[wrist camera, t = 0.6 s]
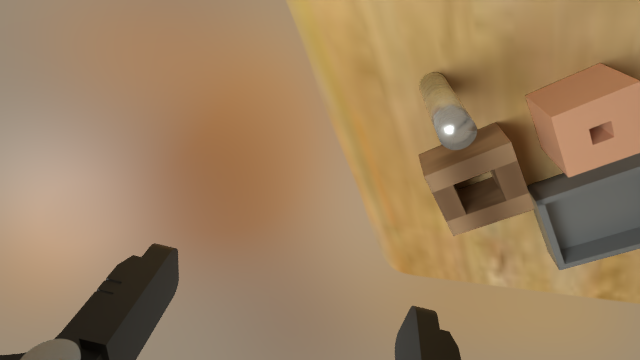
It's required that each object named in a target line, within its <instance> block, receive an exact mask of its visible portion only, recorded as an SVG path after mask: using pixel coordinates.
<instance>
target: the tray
mask: <svg viewBox="0 0 640 360" xmlns="http://www.w3.org/2000/svg"><path fill="white" fill-rule="evenodd" d="M527 189H528V191H529V194H530V197H531V200H532V203H533V206H534V208H535V209H534V213H535V215H536V218H537V221H538V224H539V227H540V229H541V232H542V235H543V238H544V241H545V243H546V246H547V249H548V252H549V254H550V256H551V257H552V259H553V260H554V262H555V264H556V265H557V267H558V268H559V270H562V269H566V268H570V267H573V266H577V265H581V264H584V263H588V262H592V261H596V260H599V259H603V258H607V257H610V256H614V255H618V254H621V253H625V252H629V251H632V250H636V249H640V153H638V154H635V155H632V156H629V157H626V158H623V159H621V160H618V161H615V162H612V163H609V164H606V165H603V166H600V167H598V168H595V169H592V170H589V171H586V172H583V173H580V174H577V175H575V176H572V177H569V178H568V177H567V176H566V174H565V173H563V174H560V175H557V176H554V177H551V178H548V179H546V180H543V181H540V182H537V183H534V184H531V185H529V186H527Z"/></svg>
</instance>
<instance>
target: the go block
mask: <svg viewBox="0 0 640 360" xmlns="http://www.w3.org/2000/svg"><path fill="white" fill-rule="evenodd" d="M419 159H420V163H421V167H422V170H423V174H424V177H425V179H426V181H427V183H428V185H429V188H430V190H431V192H432V194H433V196H434V198H435V200H436V202H437V204H438V206H439V208H440V210H441V212H442V214H443V216H444V218H445V220H446V222H447V224H448V226H449V228H450V230H451V232H452V234H453V236H455V235H458V234H461V233H464V232H467V231H470V230H473V229H476V228H479V227H482V226H485V225H488V224H491V223H494V222H497V221H500V220H503V219H506V218H510V217H513V216H516V215H519V214H522V213H525V212H528V211H531V210H534V209H535V208H534V206H533V203H532V200H531V197H530V194H529V191H528V189H527V186H526V183H525V180H524V177H523V174H522V172H521V169H520V166H519V163H518V160H517V157H516V155H515V152H514V149H513V146H512V143H511V141H510V140H509V139H508V137H507V136H506V135H505V134H504V132H503V131H502V130H501V129H500V127H499V126H498V125H497V124H496V122H495V123H493V124H491V125H488V126H486V127H484V128H481V129H479V130H477V135H476V138H475V139H474V141H473V142H472V143H471V144H470V145H469V146H467V147H466V148H464V149H460V150H451V149H448V148H446V147H444V146H443V145H441V146H438V147H436V148H434V149H431V150H429V151H427V152H424V153H422V154H419ZM488 171H491V174H492V176H493V177H491V178H489V179H486V180H483V181H481V182H478V183H475V184H473V185H470V186H467V187H465V188H462V189H459V190H457V189H456V187H455V185H454V184H457V183H459V182H462V181H465V180H467V179H470V178H473V177H475V176H478V175H481V174H483V173H486V172H488Z"/></svg>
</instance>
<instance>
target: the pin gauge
mask: <svg viewBox="0 0 640 360" xmlns="http://www.w3.org/2000/svg"><path fill="white" fill-rule="evenodd" d="M419 89H420V92H421V95H422V97H423V100H424V102H425V105H426V107H427V110H428V112H429V115H430V117H431V120H432V122H433V125H434V127H435V130H436V132H437V135H438V137H439V140H440V142H441V144H442V145H443V146H444V147H446V148H448V149H451V150H460V149H464V148H466V147H467V146H469V145H470V144H471V143H472V142H473V141H474V139H475V138H476V135H477V127H476V125H475V123H474V121H473V120H472V118H471V117H470V115H469V114H468V112H467V111H466V109H465V108H464V106H463V105H462V103H461V102H460V100H459V99H458V97H457V96H456V94H455V93H454V91H453V89H452V88H451V86H450V85H449V83H448V82H447V80H446V79H445V77H444V76H443V75H442V74H440V73H437V72H432V73H429V74H427V75H425V76H424V77H423V78H422V80H421V81H420V85H419Z"/></svg>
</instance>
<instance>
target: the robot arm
mask: <svg viewBox="0 0 640 360" xmlns="http://www.w3.org/2000/svg"><path fill="white" fill-rule="evenodd" d="M178 281H179V273H178V250H177V249H176V248H172V247H168V246H164V245H160V244H152V245H151V246H150V247H149V249H148V250H147V251H146V252H145V254H144V255H143V256H142V257H138V256H134V255H133V256H131V257H130V258H128V259H126V260H125V261H123V262H121V263H120V264H118V265H117V266H116V268H115V269H114V270H113V271H112V272H111V273H110V274H109V276H108V277H107V278H106V281H104V282H103V283H102V284H101V285H100V286H99V288H98V289H97V291H96V292H94V294H93V295H92V296H91V297H90V298H89V300H88V301H87V302H86V303H85V305H84V306H83V307H82V308H81V309H80V310H79V312H78V313H77V314H76V315H75V317H73V319H72V320H71V321H70V322H69V323H68V325H67V326H66V327H65V328H64V329H63V331H62V332H61V333H60V334H59V335H58V336H57V337H56V338H55V339H53V340H49V341H46V342H43V343H41V344H39V345H37V346H35V347H34V348H32V349H31V350H29V351H28V352H26V353H21V354H12V355H0V360H136V359H137V356H138V355H139V354H140V352H141V350H142V349H143V347H144V345H145V343H146V342H147V340H148V338H149V337H150V335H151V333H152V332H153V330H154V328H155V327H156V325H157V323H158V322H159V320H160V318H161V317H162V315H163V313H164V311H165V310H166V308H167V306H168V305H169V303H170V301H171V300H172V298H173V296H174V294H175V292H176V289H177V286H178ZM395 360H461V357H460V353H459V348H458V346H457V344H456V343H455V341H454V339H453V338H452V336H451V334H450V332H448V331H444V330H440V328H439V323H438V317H437V313H436V312H435V311H433V310H429V309H425V308H420V307H416V306H412V307H411V308H410V310H409V312H408V314H407V316H406V318H405V320H404V322H403V324H402V326H401V328H400V330H399V332H398V334H397V338H396V343H395Z"/></svg>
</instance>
